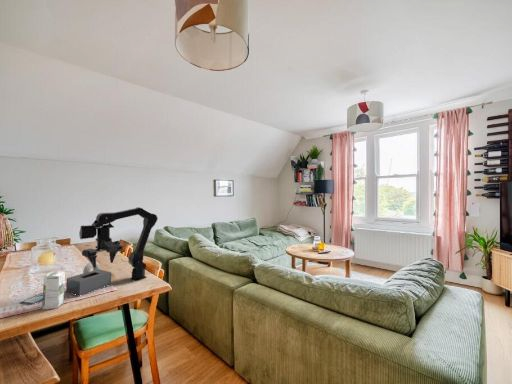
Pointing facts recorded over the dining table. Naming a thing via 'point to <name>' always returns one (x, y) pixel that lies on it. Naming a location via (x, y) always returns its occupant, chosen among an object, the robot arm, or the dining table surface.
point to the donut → (89, 266)
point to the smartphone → (33, 299)
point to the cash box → (88, 282)
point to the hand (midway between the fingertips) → (103, 265)
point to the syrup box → (53, 290)
